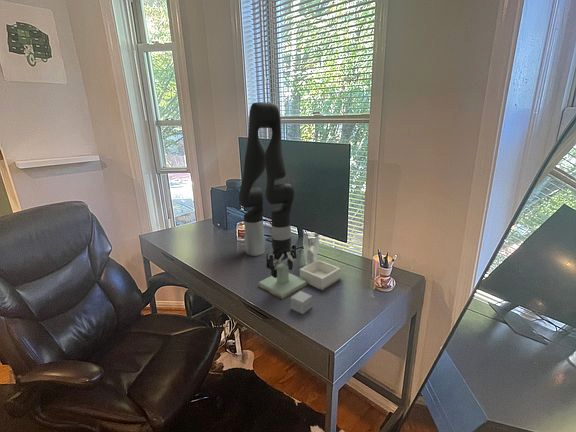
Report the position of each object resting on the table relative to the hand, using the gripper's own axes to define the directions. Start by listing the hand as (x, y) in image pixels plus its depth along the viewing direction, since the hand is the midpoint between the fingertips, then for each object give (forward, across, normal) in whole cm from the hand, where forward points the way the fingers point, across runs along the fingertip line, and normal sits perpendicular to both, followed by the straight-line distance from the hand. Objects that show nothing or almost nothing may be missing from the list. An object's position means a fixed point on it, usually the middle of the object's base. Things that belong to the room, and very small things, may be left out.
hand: (282, 273), depth 126 cm
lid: (+5, 0, 0) cm, 5 cm away
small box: (+6, +6, +16) cm, 18 cm away
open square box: (+6, -14, +8) cm, 17 cm away
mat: (+6, 0, 0) cm, 6 cm away
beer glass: (+6, -21, -3) cm, 22 cm away
